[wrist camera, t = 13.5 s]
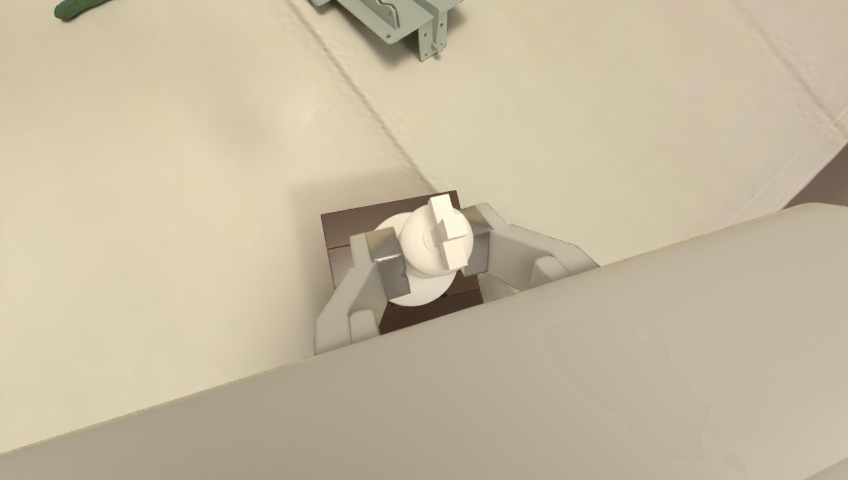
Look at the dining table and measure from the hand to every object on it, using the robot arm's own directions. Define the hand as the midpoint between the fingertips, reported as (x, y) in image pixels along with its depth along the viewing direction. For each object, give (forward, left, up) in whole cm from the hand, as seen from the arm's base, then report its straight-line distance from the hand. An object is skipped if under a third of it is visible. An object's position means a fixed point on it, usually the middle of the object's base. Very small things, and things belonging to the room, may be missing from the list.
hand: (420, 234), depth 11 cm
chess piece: (-1, 0, -6) cm, 6 cm away
